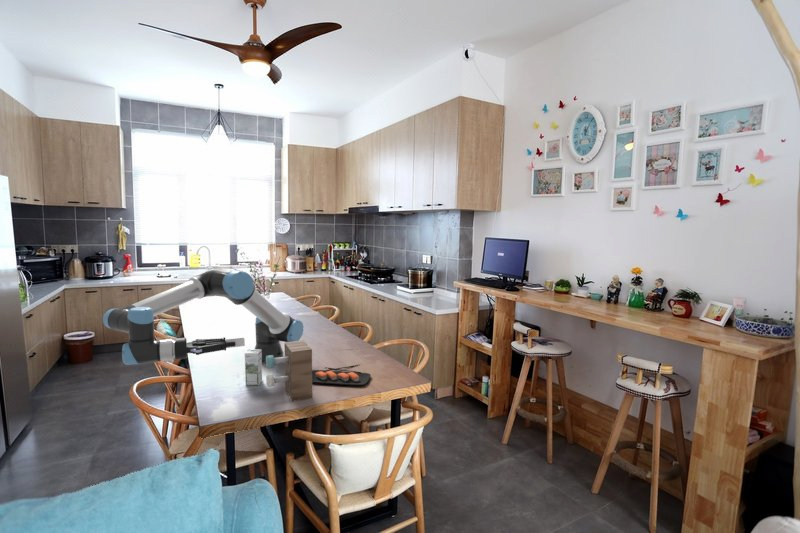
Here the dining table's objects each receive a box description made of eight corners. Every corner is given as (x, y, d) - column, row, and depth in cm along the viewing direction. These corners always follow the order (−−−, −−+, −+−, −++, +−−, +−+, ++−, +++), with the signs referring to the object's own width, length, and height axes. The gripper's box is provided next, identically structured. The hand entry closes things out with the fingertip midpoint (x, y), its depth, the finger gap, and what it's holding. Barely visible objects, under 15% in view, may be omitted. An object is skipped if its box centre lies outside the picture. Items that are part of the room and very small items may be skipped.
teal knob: (266, 365, 166) (265, 354, 165) (291, 362, 170) (291, 351, 170) (267, 369, 162) (267, 357, 161) (294, 365, 166) (294, 354, 166)
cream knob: (266, 384, 167) (266, 373, 166) (292, 381, 171) (291, 370, 171) (268, 389, 163) (268, 377, 162) (294, 384, 167) (294, 373, 167)
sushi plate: (300, 385, 181) (300, 376, 180) (322, 362, 210) (322, 355, 210) (365, 389, 177) (365, 380, 177) (378, 366, 207) (378, 358, 206)
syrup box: (262, 380, 184) (262, 348, 182) (258, 385, 178) (257, 352, 177) (249, 380, 184) (248, 348, 182) (245, 385, 178) (244, 352, 176)
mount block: (285, 388, 175) (284, 342, 173) (304, 385, 178) (303, 340, 176) (292, 401, 162) (291, 351, 160) (312, 398, 166) (311, 349, 164)
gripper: (175, 354, 155) (242, 346, 166) (173, 365, 143) (246, 356, 153) (174, 334, 154) (242, 328, 165) (173, 343, 142) (246, 336, 153)
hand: (244, 341), depth 159 cm, fingers closed
